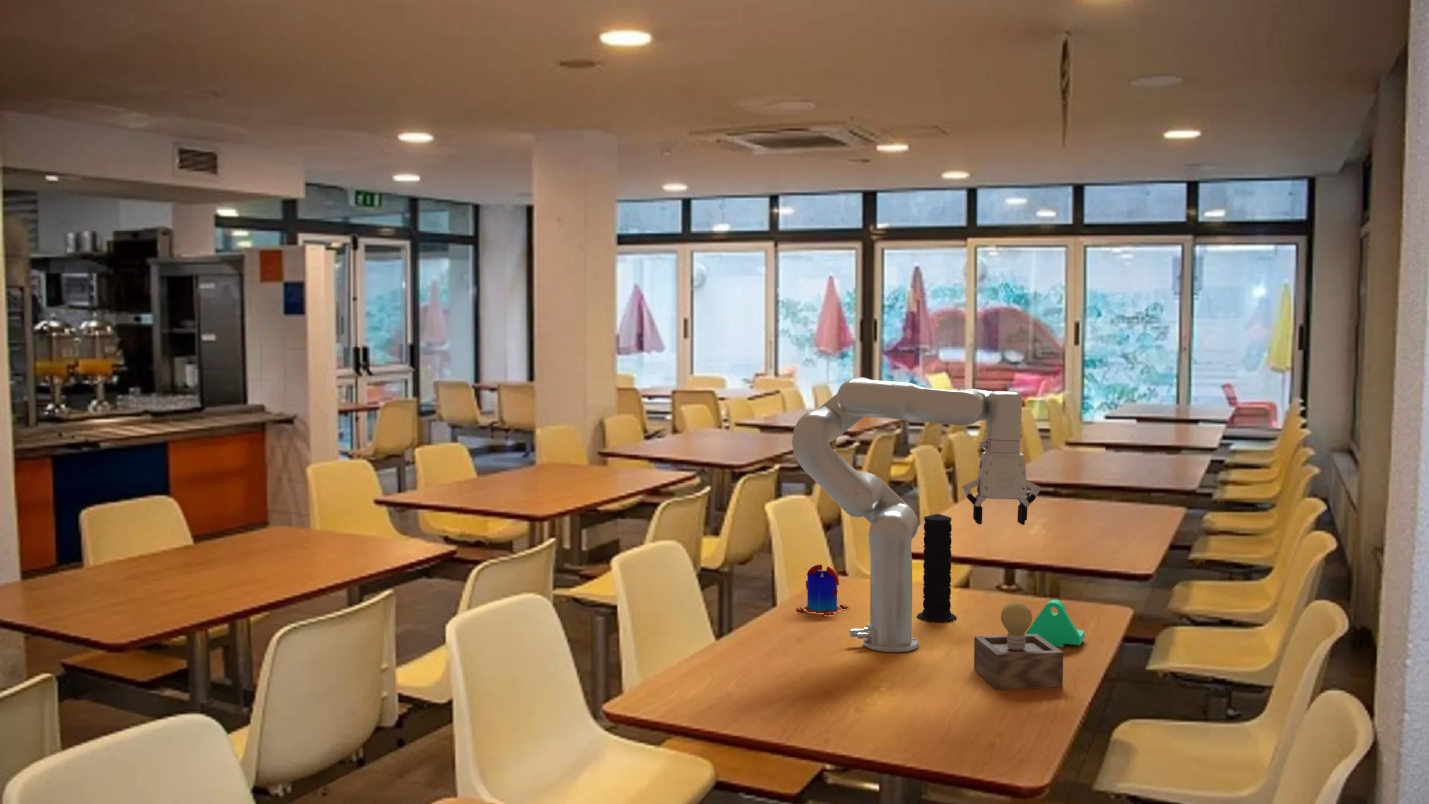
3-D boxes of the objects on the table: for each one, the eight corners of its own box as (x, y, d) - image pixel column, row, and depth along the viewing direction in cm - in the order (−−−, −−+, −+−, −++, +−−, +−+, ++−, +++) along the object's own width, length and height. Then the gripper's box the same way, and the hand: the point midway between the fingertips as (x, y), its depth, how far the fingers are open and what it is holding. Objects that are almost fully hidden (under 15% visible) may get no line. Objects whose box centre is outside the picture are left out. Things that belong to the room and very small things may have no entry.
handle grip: (941, 611, 307) (908, 615, 303) (942, 509, 305) (909, 512, 301) (965, 620, 298) (931, 624, 294) (966, 515, 296) (932, 518, 292)
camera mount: (1084, 641, 279) (1085, 598, 278) (1079, 649, 272) (1080, 605, 271) (1032, 635, 284) (1033, 593, 284) (1026, 643, 278) (1026, 600, 277)
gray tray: (996, 689, 243) (997, 654, 243) (974, 669, 257) (974, 636, 257) (1062, 686, 245) (1063, 652, 244) (1036, 666, 259) (1037, 634, 258)
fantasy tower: (852, 608, 310) (853, 562, 310) (832, 618, 300) (832, 571, 300) (812, 602, 317) (812, 558, 316) (791, 612, 307) (791, 566, 306)
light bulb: (1032, 654, 247) (1033, 606, 246) (1001, 652, 248) (1001, 605, 248) (1030, 646, 253) (1031, 599, 253) (999, 644, 254) (1000, 598, 254)
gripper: (968, 448, 260) (965, 526, 261) (1046, 449, 261) (1043, 527, 262) (959, 444, 267) (957, 520, 269) (1035, 445, 268) (1032, 520, 270)
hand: (999, 523), depth 266 cm, fingers open, 9 cm apart
